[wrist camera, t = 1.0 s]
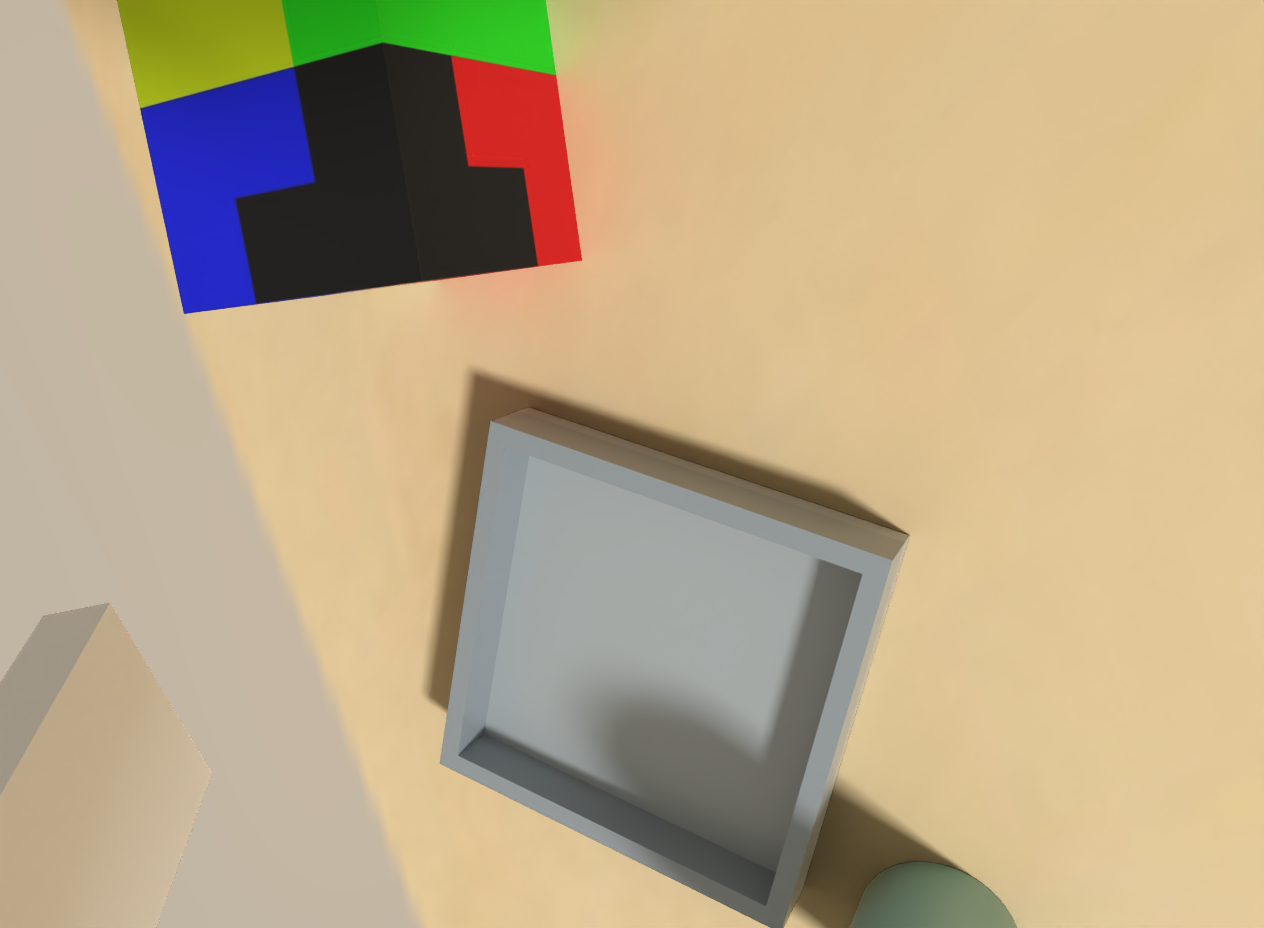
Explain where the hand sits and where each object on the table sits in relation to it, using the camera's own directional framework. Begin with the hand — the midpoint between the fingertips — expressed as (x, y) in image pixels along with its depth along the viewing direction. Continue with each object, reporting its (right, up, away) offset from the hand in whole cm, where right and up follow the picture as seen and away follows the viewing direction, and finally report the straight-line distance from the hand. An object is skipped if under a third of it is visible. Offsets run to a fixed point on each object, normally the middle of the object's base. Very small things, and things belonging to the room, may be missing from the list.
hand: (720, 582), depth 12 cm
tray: (0, -6, +30) cm, 31 cm away
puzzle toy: (-8, +14, +29) cm, 33 cm away
